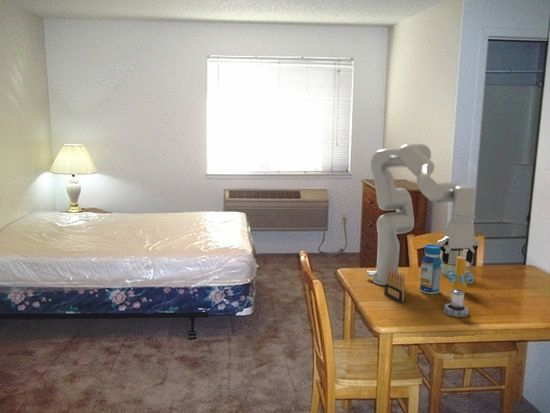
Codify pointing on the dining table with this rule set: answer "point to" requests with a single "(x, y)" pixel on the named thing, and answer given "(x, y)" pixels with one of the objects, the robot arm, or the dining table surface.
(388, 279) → the ammunition clip
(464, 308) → the duct flange
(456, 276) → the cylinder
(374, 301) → the dining table surface
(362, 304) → the dining table surface
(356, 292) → the dining table surface
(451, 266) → the coffee can
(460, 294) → the silver metal cylinder
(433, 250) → the blue lidded canister
